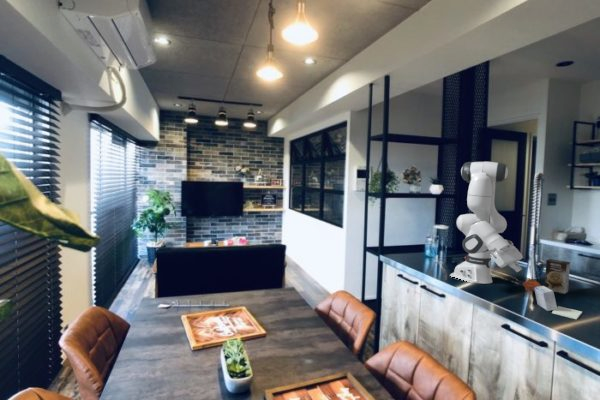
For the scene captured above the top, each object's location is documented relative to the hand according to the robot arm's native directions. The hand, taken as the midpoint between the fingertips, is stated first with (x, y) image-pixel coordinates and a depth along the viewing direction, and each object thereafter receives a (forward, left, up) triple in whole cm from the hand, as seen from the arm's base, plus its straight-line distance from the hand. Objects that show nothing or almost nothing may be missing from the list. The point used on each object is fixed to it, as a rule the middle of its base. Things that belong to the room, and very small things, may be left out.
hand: (519, 270), depth 159 cm
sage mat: (+19, +1, -15) cm, 24 cm away
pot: (-1, +24, -15) cm, 28 cm away
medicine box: (+11, +1, -15) cm, 19 cm away
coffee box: (+7, +36, -15) cm, 40 cm away
